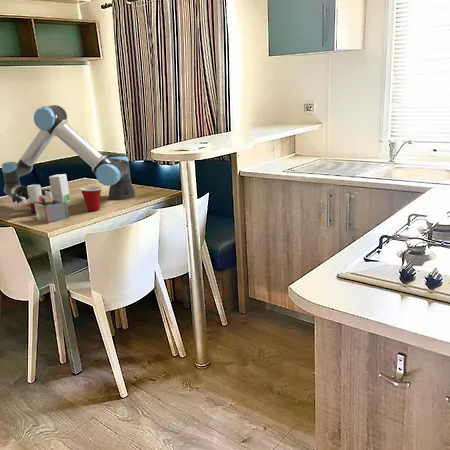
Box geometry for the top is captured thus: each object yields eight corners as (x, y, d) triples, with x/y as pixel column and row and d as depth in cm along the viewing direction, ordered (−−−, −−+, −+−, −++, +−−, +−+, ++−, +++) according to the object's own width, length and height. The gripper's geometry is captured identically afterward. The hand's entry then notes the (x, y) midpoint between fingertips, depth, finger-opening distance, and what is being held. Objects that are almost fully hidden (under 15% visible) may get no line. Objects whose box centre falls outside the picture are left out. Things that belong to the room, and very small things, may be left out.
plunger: (38, 216, 239) (34, 196, 236) (49, 213, 243) (46, 193, 240) (47, 219, 232) (43, 199, 229) (58, 216, 236) (55, 196, 233)
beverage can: (47, 213, 246) (42, 185, 242) (34, 216, 242) (29, 187, 238) (42, 211, 251) (37, 183, 247) (30, 214, 247) (24, 186, 243)
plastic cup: (109, 209, 247) (106, 186, 243) (91, 214, 239) (87, 190, 236) (97, 206, 254) (94, 184, 250) (79, 211, 246) (75, 188, 243)
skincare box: (63, 204, 263) (58, 176, 259) (52, 204, 265) (48, 177, 260) (71, 200, 271) (66, 173, 267) (60, 200, 273) (56, 173, 268)
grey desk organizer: (37, 219, 236) (34, 203, 234) (57, 214, 244) (55, 199, 241) (47, 223, 228) (45, 207, 226) (69, 217, 235) (66, 202, 233)
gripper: (44, 194, 266) (62, 199, 251) (-1, 204, 249) (15, 210, 235) (42, 181, 264) (60, 185, 249) (-4, 190, 247) (12, 195, 233)
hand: (38, 197), depth 242 cm, fingers open, 13 cm apart
